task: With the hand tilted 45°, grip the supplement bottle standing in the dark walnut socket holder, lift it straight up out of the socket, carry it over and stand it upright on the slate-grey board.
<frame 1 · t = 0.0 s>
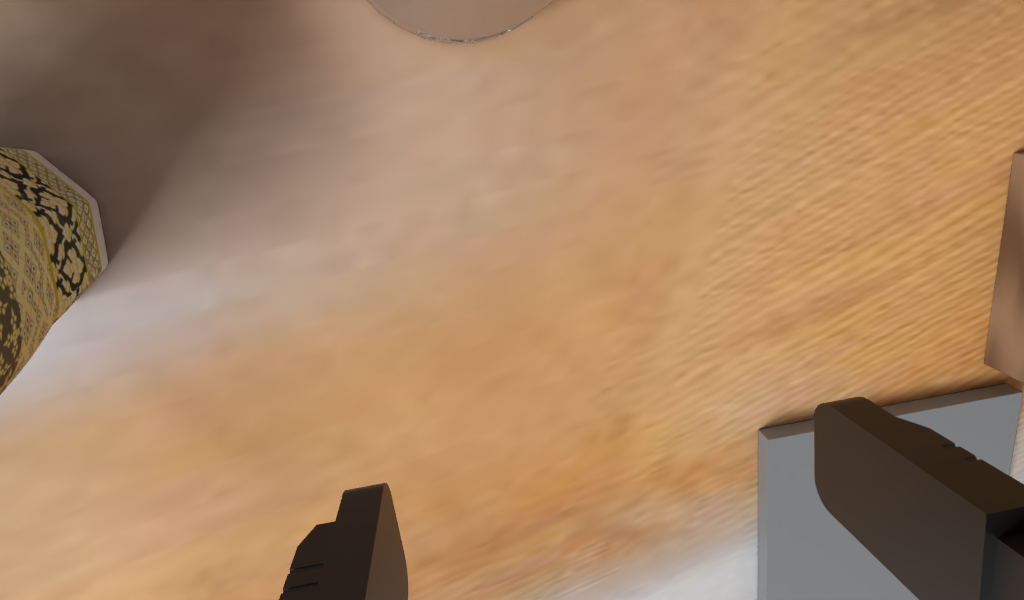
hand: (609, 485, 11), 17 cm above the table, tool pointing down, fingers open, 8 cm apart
slate board: (875, 513, 35), on the table
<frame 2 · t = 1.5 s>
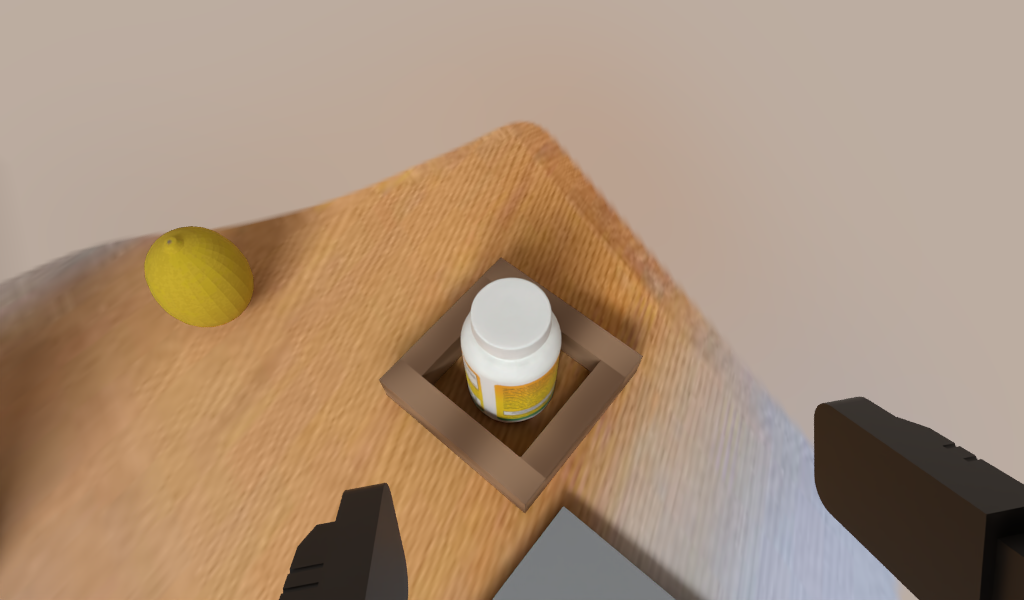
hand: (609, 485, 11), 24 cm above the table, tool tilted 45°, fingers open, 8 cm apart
walnut holder: (512, 383, 38), on the table
supplement bottle: (512, 385, 38), resting in walnut holder
lemon: (230, 311, 41), on the table
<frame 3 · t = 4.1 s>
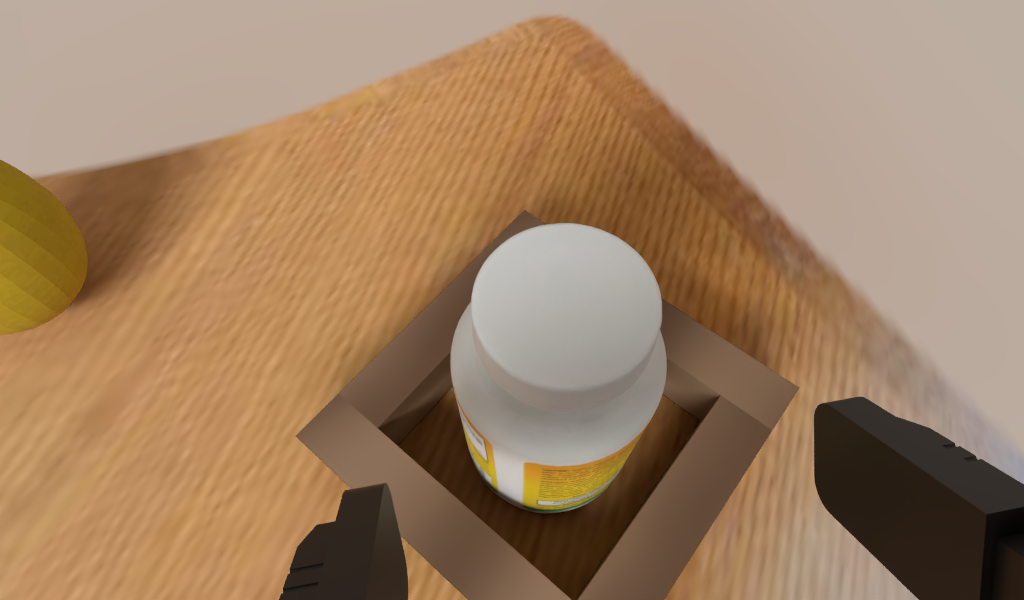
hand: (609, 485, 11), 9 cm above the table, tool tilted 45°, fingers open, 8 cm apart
walnut holder: (547, 435, 21), on the table
supplement bottle: (547, 437, 21), resting in walnut holder
lemon: (60, 307, 24), on the table
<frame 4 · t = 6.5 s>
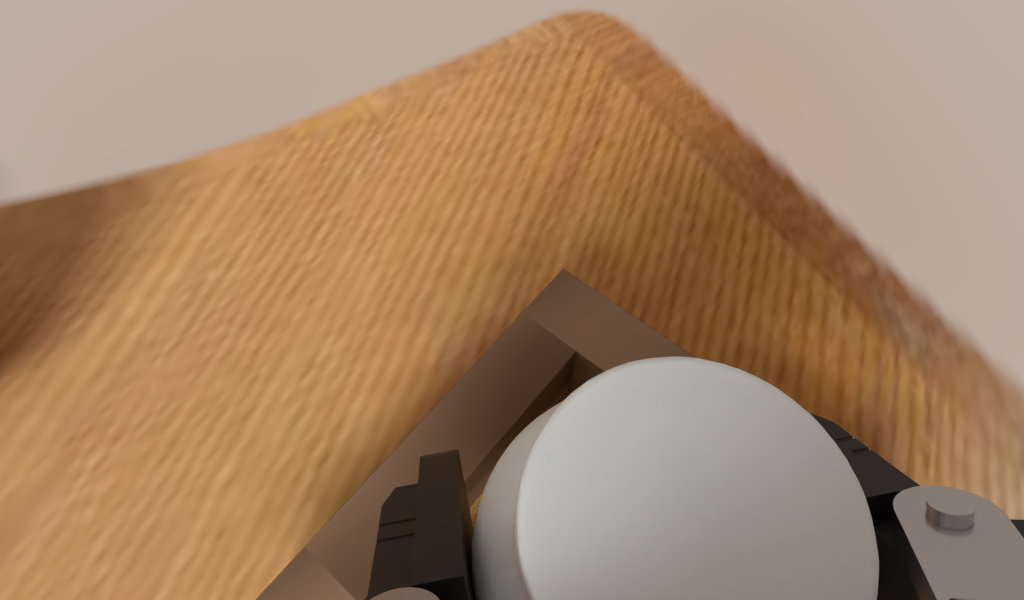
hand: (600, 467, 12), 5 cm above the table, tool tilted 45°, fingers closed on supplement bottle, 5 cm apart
walnut holder: (599, 588, 15), on the table
supplement bottle: (598, 589, 15), resting in walnut holder, touching gripper
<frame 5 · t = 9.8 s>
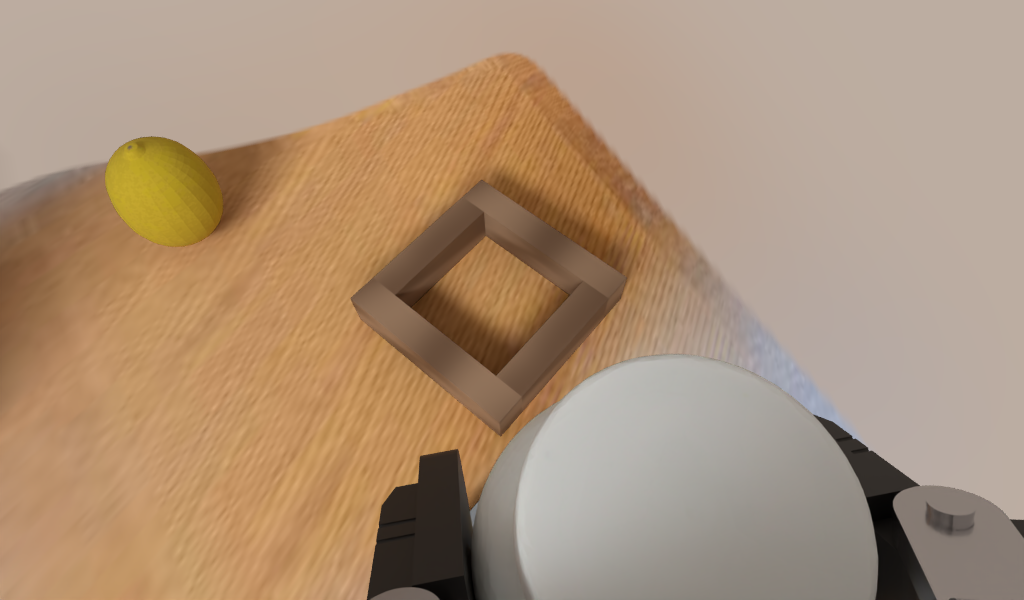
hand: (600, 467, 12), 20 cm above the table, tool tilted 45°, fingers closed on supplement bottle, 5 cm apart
walnut holder: (491, 308, 37), on the table
supplement bottle: (598, 587, 15), point 15 cm above the table, touching gripper
lemon: (200, 235, 40), on the table
when the fingers open (7 cm above the table, at t = 13.4 s): supplement bottle drops 1 cm, resting on slate board.
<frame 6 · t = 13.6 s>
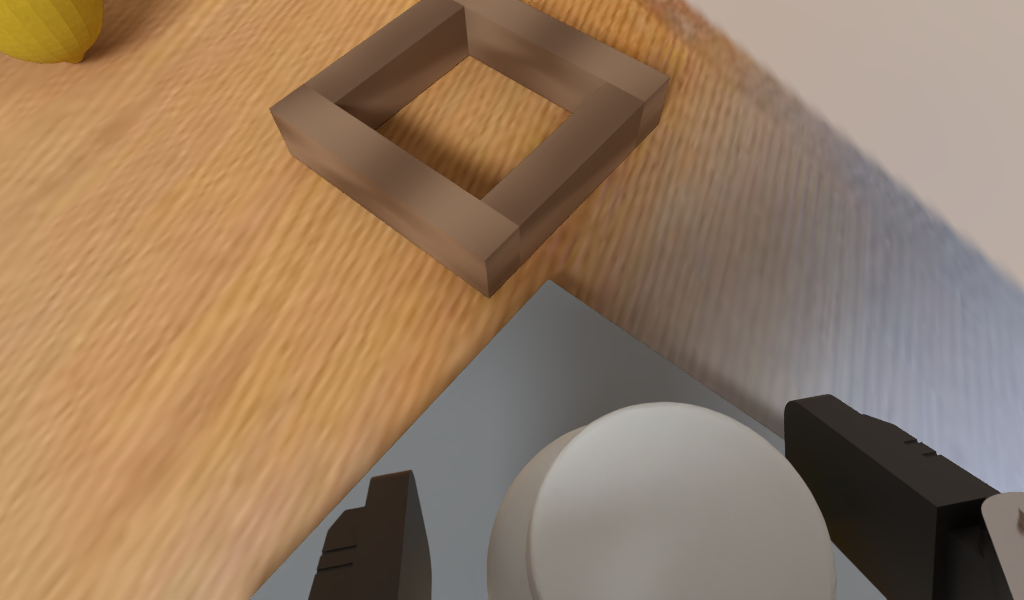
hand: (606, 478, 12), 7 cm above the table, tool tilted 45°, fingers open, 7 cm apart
slate board: (589, 595, 17), on the table
walnut holder: (475, 139, 26), on the table
supplement bottle: (598, 599, 16), point 1 cm above the table, touching slate board
lemon: (80, 64, 29), on the table
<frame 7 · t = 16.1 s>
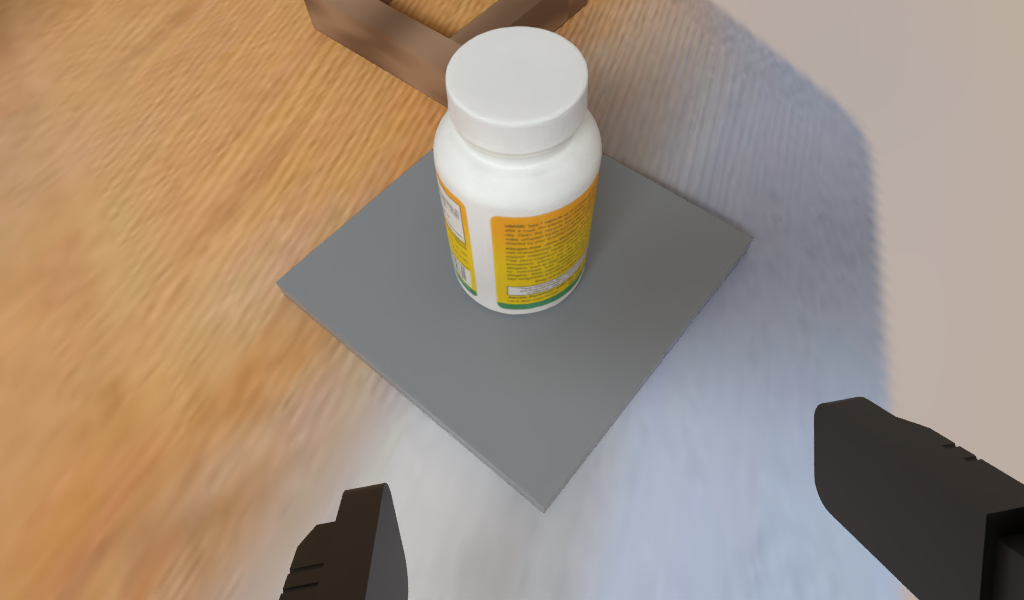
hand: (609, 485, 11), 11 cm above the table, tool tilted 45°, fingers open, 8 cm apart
slate board: (516, 273, 26), on the table
walnut holder: (450, 16, 35), on the table
supplement bottle: (520, 265, 25), point 1 cm above the table, touching slate board
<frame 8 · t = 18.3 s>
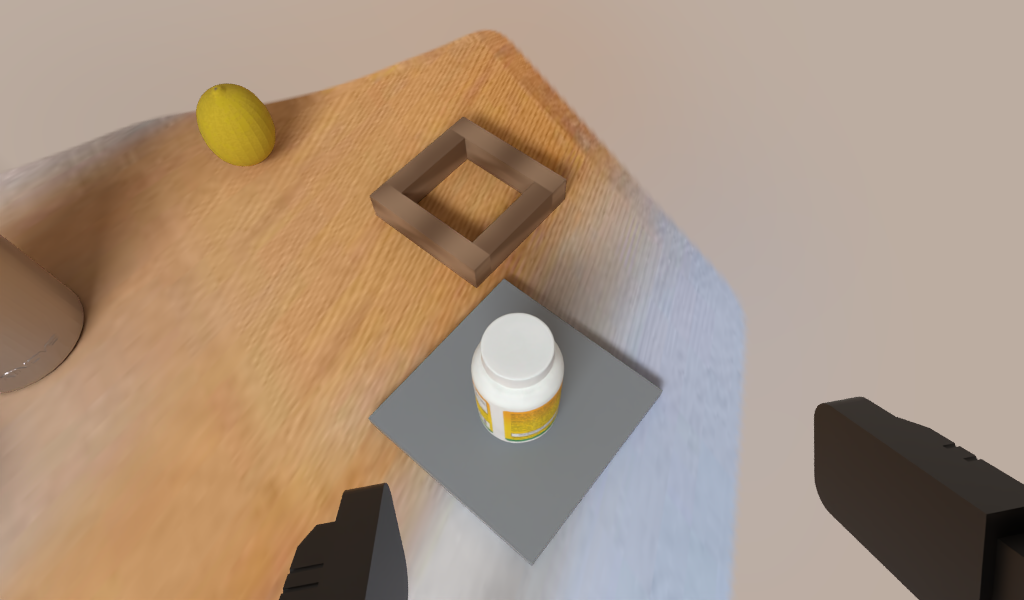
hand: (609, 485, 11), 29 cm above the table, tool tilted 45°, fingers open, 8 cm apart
slate board: (516, 409, 42), on the table
walnut holder: (470, 207, 51), on the table
supplement bottle: (518, 407, 41), point 1 cm above the table, touching slate board
lemon: (257, 162, 54), on the table
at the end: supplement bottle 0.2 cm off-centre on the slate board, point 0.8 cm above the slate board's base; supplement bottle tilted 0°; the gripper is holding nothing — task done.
